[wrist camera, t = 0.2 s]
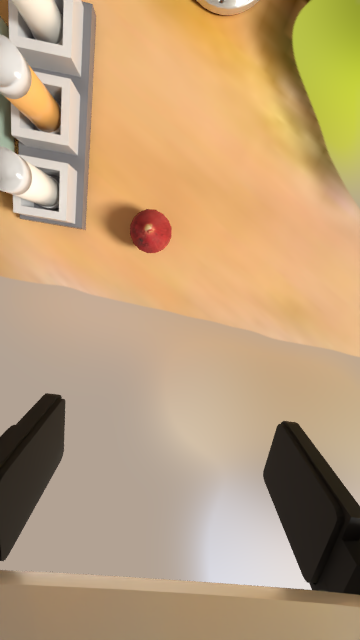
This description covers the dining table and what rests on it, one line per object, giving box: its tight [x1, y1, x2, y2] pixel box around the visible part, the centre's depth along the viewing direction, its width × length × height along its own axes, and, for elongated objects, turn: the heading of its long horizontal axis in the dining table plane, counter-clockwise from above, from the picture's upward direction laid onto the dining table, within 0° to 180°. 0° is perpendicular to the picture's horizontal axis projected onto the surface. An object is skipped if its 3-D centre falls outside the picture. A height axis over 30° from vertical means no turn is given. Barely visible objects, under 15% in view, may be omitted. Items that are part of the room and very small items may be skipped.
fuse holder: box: [8, 0, 96, 230], centre depth 31 cm, size 26×9×4 cm, turn 171°
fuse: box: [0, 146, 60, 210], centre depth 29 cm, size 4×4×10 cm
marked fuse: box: [0, 34, 61, 135], centre depth 27 cm, size 4×4×10 cm
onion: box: [130, 209, 171, 253], centre depth 33 cm, size 6×6×8 cm
